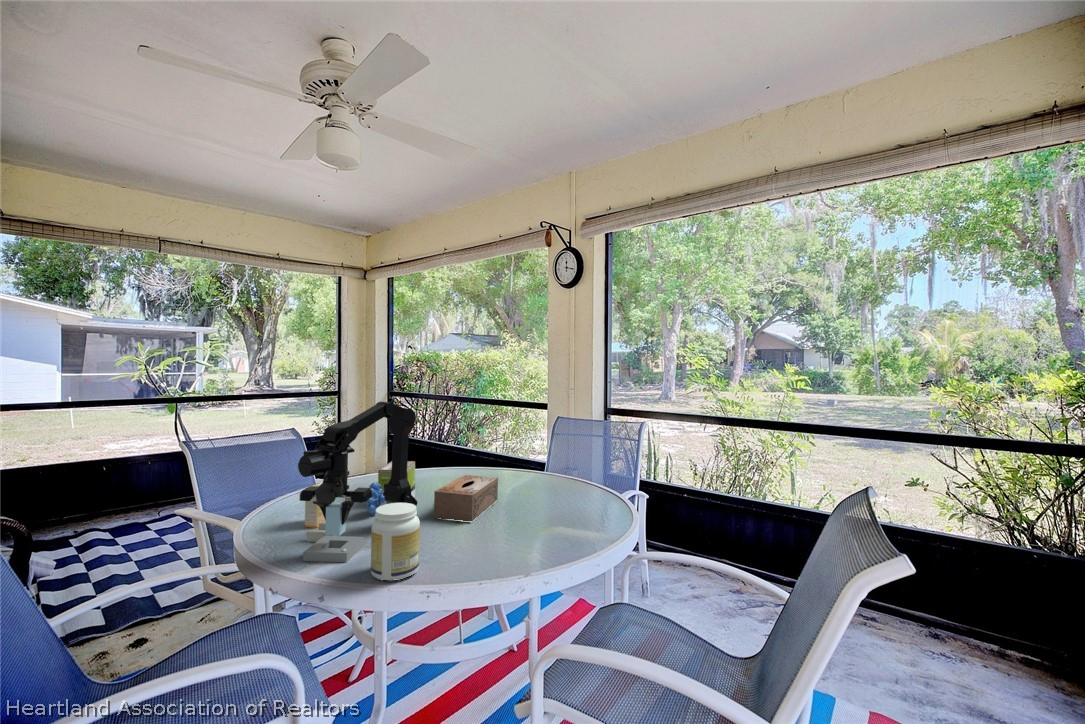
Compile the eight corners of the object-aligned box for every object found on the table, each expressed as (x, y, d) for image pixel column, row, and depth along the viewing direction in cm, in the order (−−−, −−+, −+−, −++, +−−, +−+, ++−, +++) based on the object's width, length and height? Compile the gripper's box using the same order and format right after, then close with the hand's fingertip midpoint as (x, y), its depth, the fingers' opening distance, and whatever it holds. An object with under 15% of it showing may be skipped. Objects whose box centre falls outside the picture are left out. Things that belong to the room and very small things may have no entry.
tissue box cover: (471, 524, 163) (472, 495, 163) (433, 519, 166) (434, 491, 166) (497, 502, 188) (498, 477, 188) (463, 499, 191) (464, 474, 191)
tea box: (391, 496, 192) (392, 460, 192) (415, 497, 192) (416, 460, 192) (376, 507, 177) (377, 468, 177) (403, 508, 177) (404, 469, 177)
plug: (345, 530, 137) (346, 503, 137) (339, 535, 133) (340, 507, 133) (331, 530, 137) (332, 502, 137) (325, 535, 133) (325, 507, 133)
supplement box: (316, 528, 154) (317, 488, 154) (304, 527, 155) (304, 487, 155) (333, 520, 162) (333, 482, 162) (320, 519, 163) (321, 481, 163)
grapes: (380, 521, 162) (381, 486, 162) (360, 520, 163) (361, 485, 163) (392, 510, 174) (392, 478, 174) (373, 509, 174) (374, 477, 174)
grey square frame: (345, 531, 152) (346, 522, 152) (332, 542, 143) (333, 532, 143) (321, 530, 152) (321, 521, 152) (306, 541, 143) (307, 531, 143)
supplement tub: (425, 563, 130) (426, 502, 130) (409, 584, 118) (411, 516, 118) (381, 561, 130) (383, 500, 130) (362, 581, 118) (363, 514, 118)
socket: (363, 545, 141) (364, 535, 141) (346, 562, 129) (346, 551, 129) (324, 544, 141) (324, 534, 141) (303, 560, 129) (303, 550, 129)
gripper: (289, 475, 127) (288, 533, 128) (357, 477, 127) (356, 535, 127) (310, 466, 139) (309, 519, 139) (373, 468, 138) (372, 521, 138)
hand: (335, 524), depth 135 cm, fingers closed on plug, 4 cm apart
